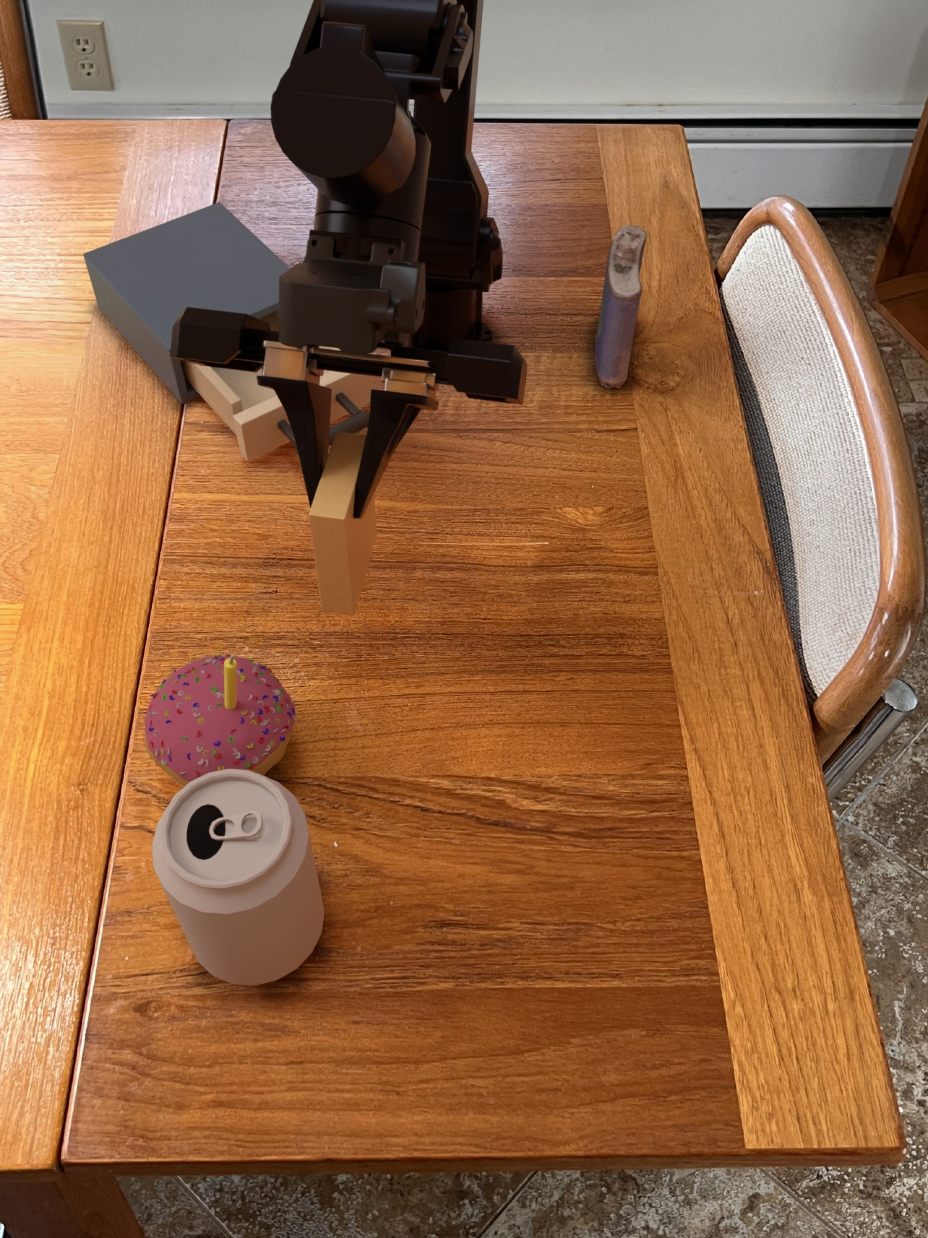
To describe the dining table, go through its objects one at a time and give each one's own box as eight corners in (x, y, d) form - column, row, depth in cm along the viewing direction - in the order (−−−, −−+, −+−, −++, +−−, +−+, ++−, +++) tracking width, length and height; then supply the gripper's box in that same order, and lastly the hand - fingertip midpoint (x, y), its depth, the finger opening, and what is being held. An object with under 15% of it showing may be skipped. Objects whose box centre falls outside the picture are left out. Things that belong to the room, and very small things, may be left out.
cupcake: (323, 724, 72) (305, 605, 62) (265, 842, 67) (235, 733, 57) (198, 685, 73) (162, 564, 64) (133, 798, 68) (82, 684, 59)
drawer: (403, 428, 86) (402, 391, 83) (275, 492, 82) (268, 455, 79) (283, 311, 95) (278, 273, 92) (161, 363, 90) (151, 325, 88)
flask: (626, 391, 91) (645, 275, 82) (589, 387, 91) (603, 271, 82) (633, 318, 96) (651, 202, 88) (598, 314, 96) (612, 199, 88)
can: (193, 866, 66) (150, 759, 56) (325, 857, 66) (305, 749, 57) (185, 997, 61) (137, 904, 52) (326, 986, 62) (305, 892, 52)
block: (346, 530, 72) (336, 430, 65) (377, 534, 72) (370, 434, 65) (321, 611, 68) (308, 514, 61) (354, 616, 68) (344, 519, 61)
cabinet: (318, 343, 94) (312, 288, 89) (181, 404, 89) (168, 349, 85) (229, 256, 100) (219, 201, 96) (98, 308, 96) (82, 253, 91)
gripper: (143, 169, 55) (116, 497, 57) (534, 210, 53) (490, 547, 55) (217, 219, 66) (192, 492, 68) (542, 255, 64) (506, 534, 66)
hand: (336, 515), depth 64 cm, fingers closed on block, 2 cm apart
